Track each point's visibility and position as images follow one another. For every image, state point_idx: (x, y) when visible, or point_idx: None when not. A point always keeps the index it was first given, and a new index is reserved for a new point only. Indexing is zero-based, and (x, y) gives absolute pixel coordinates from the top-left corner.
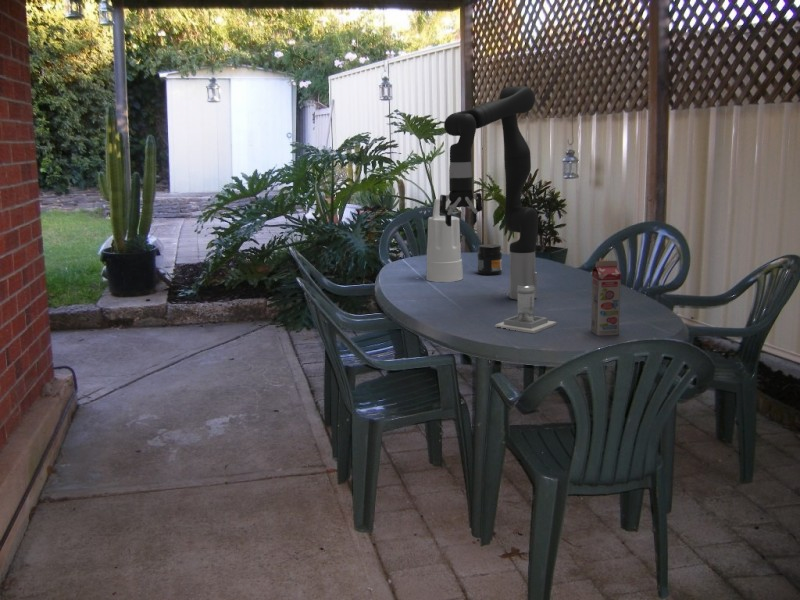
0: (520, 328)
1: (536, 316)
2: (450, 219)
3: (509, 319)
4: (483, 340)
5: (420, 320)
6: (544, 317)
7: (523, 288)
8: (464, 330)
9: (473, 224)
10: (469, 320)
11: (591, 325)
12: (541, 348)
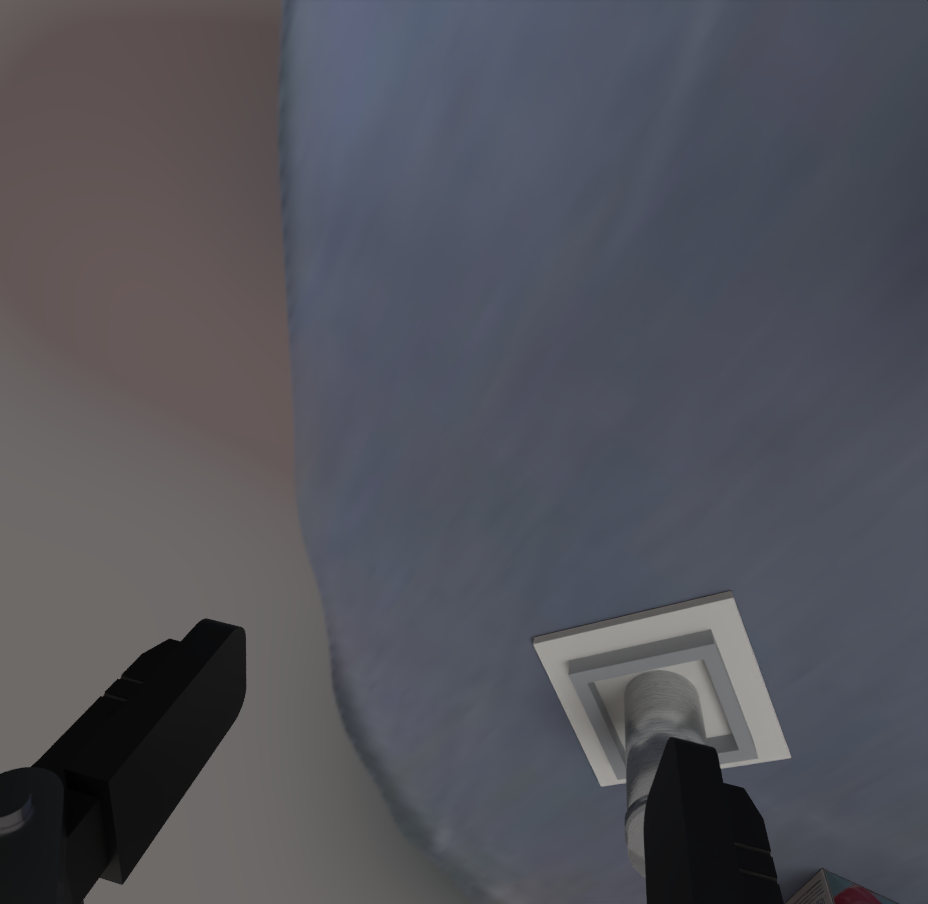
0: (583, 738)
1: (735, 716)
2: (161, 800)
3: (596, 679)
4: (390, 735)
5: (303, 348)
6: (750, 747)
7: (635, 865)
8: (398, 602)
9: (651, 812)
10: (509, 482)
11: (823, 894)
12: (499, 886)
